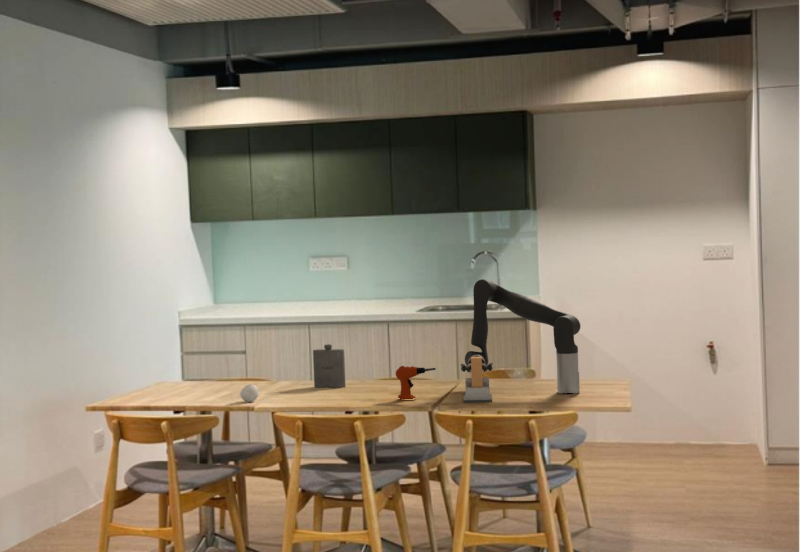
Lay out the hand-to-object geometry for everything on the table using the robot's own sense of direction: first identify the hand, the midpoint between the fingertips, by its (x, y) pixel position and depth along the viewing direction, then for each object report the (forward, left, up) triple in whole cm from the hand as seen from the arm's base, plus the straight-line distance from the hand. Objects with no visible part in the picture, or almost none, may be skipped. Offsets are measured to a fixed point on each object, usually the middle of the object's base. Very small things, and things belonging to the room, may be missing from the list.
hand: (476, 369), depth 445 cm
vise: (0, -4, -13) cm, 14 cm away
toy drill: (+26, -7, -13) cm, 30 cm away
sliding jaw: (0, -9, -12) cm, 15 cm away
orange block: (0, -2, -12) cm, 12 cm away
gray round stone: (+99, -12, -13) cm, 101 cm away
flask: (+69, -49, -13) cm, 86 cm away
